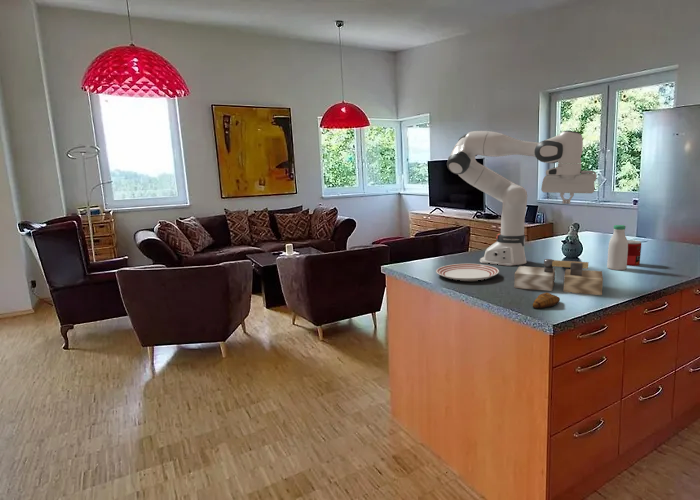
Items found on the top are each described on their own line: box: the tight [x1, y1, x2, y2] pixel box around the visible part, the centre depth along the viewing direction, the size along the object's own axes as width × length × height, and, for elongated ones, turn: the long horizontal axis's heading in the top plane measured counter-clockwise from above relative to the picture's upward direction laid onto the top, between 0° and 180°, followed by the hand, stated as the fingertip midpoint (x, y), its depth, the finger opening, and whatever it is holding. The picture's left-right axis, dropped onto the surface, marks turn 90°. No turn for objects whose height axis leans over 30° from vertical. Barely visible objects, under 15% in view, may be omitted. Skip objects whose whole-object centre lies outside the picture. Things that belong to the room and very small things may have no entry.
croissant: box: [532, 292, 561, 309], centre depth 159 cm, size 14×7×5 cm, turn 121°
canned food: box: [627, 239, 642, 267], centre depth 215 cm, size 8×8×11 cm
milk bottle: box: [606, 224, 628, 271], centre depth 206 cm, size 8×8×20 cm
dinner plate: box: [435, 263, 500, 282], centre depth 204 cm, size 28×27×3 cm
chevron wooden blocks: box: [513, 263, 604, 296], centre depth 181 cm, size 31×14×11 cm, turn 63°
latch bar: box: [543, 258, 589, 270], centre depth 179 cm, size 16×4×2 cm, turn 61°
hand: (566, 203), depth 192 cm, fingers closed
